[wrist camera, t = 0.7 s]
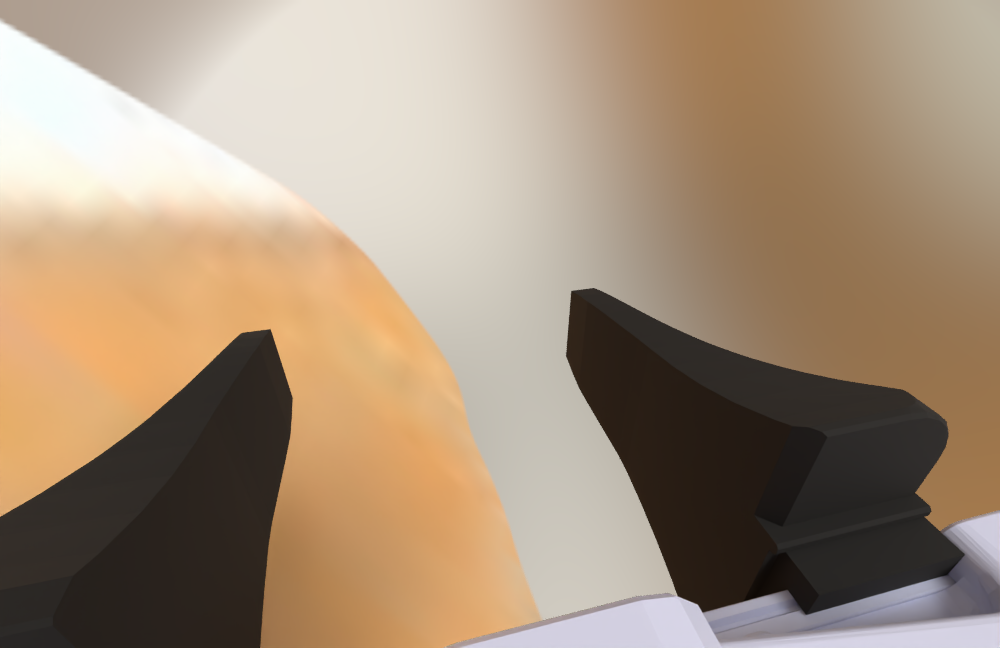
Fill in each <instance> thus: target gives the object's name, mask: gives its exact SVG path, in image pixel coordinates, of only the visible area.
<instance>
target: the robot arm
mask: <svg viewBox="0 0 1000 648" xmlns="http://www.w3.org/2000/svg"><path fill="white" fill-rule="evenodd" d="M566 357H567V359H568V362H569V364H570V367H571V370H572V372H573V375H574V377H575V380H576V381H577V384H578V386H579V389H580V390H581V392H582V394H583V396H584V397H585V399H586V401H587V403H588V404H589V406H590V407H591V410H592V411H593V413H594V415H595V416H596V418H597V420H598V421H599V423H600V425H601V426H602V428H603V430H604V431H605V433H606V435H607V436H608V438H609V440H610V442H611V443H612V445H613V447H614V448H615V450H616V452H617V453H618V455H619V457H620V459H621V461H622V463H623V465H624V467H625V469H626V471H627V473H628V475H629V477H630V479H631V482H632V484H633V486H634V488H635V491H636V493H637V495H638V497H639V500H640V502H641V504H642V506H643V509H644V511H645V514H646V516H647V518H648V521H649V523H650V526H651V528H652V530H653V533H654V535H655V538H656V540H657V542H658V545H659V548H660V550H661V553H662V556H663V558H664V560H665V563H666V566H667V568H668V571H669V574H670V576H671V579H672V581H673V584H674V587H675V590H676V593H677V595H678V596H675V595H672V594H669V593H664V594H655V595H646V596H636V597H632V598H628V599H624V600H621V601H617V602H613V603H609V604H605V605H601V606H597V607H594V608H590V609H586V610H582V611H578V612H574V613H570V614H567V615H562V616H559V617H555V618H551V619H547V620H543V621H539V622H535V623H531V624H527V625H523V626H520V627H516V628H512V629H508V630H504V631H500V632H496V633H492V634H489V635H485V636H481V637H477V638H473V639H469V640H465V641H461V642H457V643H454V644H452V645H449V646H447V647H444V648H1000V510H999V511H995V512H991V513H987V514H984V515H980V516H976V517H972V518H968V519H964V520H961V521H958V522H955V523H953V524H950V525H949V526H947V527H946V528H944V529H942V531H939V530H938V529H937V528H936V527H934V526H933V525H932V524H931V523H930V522H929V521H928V520H927V519H926V518H925V516H928V515H929V514H930V512H931V508H930V506H929V505H928V504H927V503H926V502H925V501H923V499H921V498H920V497H919V496H918V495H917V494H915V492H916V491H917V489H918V488H919V486H920V485H921V484H922V482H923V481H924V479H925V478H926V476H927V475H928V474H929V472H930V471H931V469H932V468H933V466H934V465H935V463H936V462H937V461H938V459H939V457H940V456H941V454H942V452H943V450H944V449H945V447H946V443H947V439H948V427H947V422H946V421H945V420H944V419H943V418H942V417H941V416H940V415H939V414H937V413H936V412H934V411H933V410H932V409H930V408H929V407H927V406H926V405H925V404H923V403H922V402H921V401H919V400H917V399H916V398H915V397H914V396H912V395H911V394H909V393H908V392H906V391H904V390H901V389H895V388H888V387H882V386H875V385H868V384H862V383H855V382H849V381H843V380H837V379H832V378H827V377H823V376H818V375H813V374H808V373H804V372H800V371H796V370H791V369H788V368H783V367H780V366H776V365H773V364H769V363H766V362H762V361H759V360H755V359H752V358H749V357H746V356H743V355H740V354H737V353H734V352H731V351H728V350H725V349H723V348H720V347H717V346H715V345H712V344H709V343H707V342H704V341H702V340H699V339H697V338H695V337H692V336H690V335H688V334H686V333H683V332H681V331H679V330H677V329H675V328H672V327H670V326H668V325H666V324H664V323H662V322H660V321H658V320H656V319H654V318H652V317H650V316H648V315H646V314H645V313H642V312H641V311H639V310H637V309H635V308H633V307H631V306H629V305H627V304H626V303H624V302H622V301H620V300H618V299H616V298H614V297H612V296H610V295H608V294H606V293H604V292H602V291H600V290H597V289H595V288H592V289H583V290H576V291H571V303H570V315H569V327H568V340H567V352H566ZM292 399H293V398H292V395H291V391H290V388H289V385H288V382H287V379H286V376H285V373H284V370H283V367H282V363H281V360H280V357H279V354H278V351H277V348H276V345H275V342H274V338H273V335H272V332H271V329H269V330H261V331H254V332H246V333H241V334H240V335H239V336H238V337H237V338H235V339H234V340H233V341H232V342H231V343H230V344H229V345H228V346H227V347H226V348H225V349H224V350H223V351H222V352H221V353H220V354H219V355H218V356H217V357H216V358H215V359H214V360H213V361H212V362H211V363H210V364H209V365H207V366H206V367H205V368H204V369H203V370H202V371H201V372H200V373H199V374H198V375H197V376H196V377H195V378H194V379H193V380H192V381H191V382H190V383H189V384H188V385H186V386H185V387H184V388H183V389H182V390H181V391H180V392H179V393H177V394H176V395H175V396H174V397H173V398H172V399H170V400H169V401H168V402H167V403H166V404H165V405H164V406H162V407H161V408H160V409H159V410H158V411H157V412H156V413H154V414H153V415H152V416H151V417H150V418H149V419H147V420H146V421H145V422H144V423H142V424H141V425H140V426H139V427H137V428H136V429H135V430H133V431H132V432H131V433H130V434H128V435H127V436H126V437H124V438H123V439H121V440H120V441H119V442H117V443H116V444H115V445H113V446H112V447H111V448H109V449H108V450H106V451H105V452H104V453H102V454H101V455H99V456H98V457H96V458H95V459H94V460H92V461H91V462H89V463H87V464H86V465H84V466H83V467H81V468H80V469H78V470H77V471H75V472H73V473H72V474H70V475H69V476H67V477H66V478H64V479H62V480H61V481H59V482H58V483H56V484H55V485H53V486H52V487H50V488H48V489H47V490H45V491H44V492H42V493H41V494H39V495H37V496H36V497H34V498H32V499H31V500H29V501H27V502H25V503H24V504H22V505H20V506H18V507H17V508H15V509H13V510H11V511H10V512H8V513H6V514H5V515H3V516H1V517H0V648H260V640H261V625H262V612H263V599H264V586H265V576H266V566H267V555H268V545H269V538H270V532H271V526H272V520H273V515H274V511H275V506H276V501H277V497H278V492H279V487H280V483H281V478H282V474H283V469H284V464H285V459H286V454H287V450H288V445H289V440H290V433H291V419H292Z"/></svg>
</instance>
